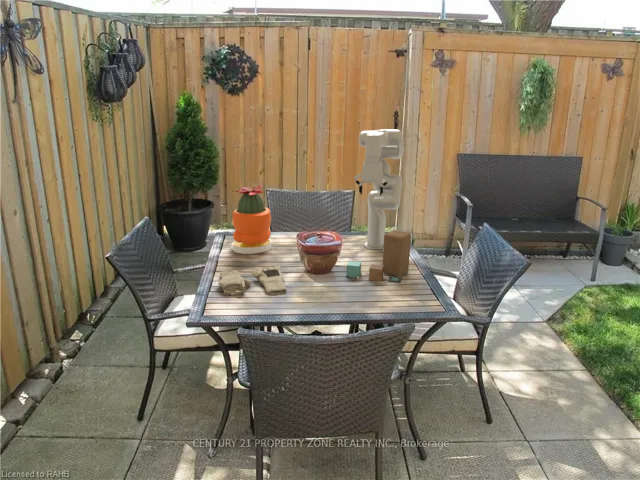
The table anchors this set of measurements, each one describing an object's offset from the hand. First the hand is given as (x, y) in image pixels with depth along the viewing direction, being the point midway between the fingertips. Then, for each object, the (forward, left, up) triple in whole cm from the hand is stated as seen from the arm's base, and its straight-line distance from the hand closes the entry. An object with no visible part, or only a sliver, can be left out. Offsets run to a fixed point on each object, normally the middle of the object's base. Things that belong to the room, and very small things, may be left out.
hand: (370, 194), depth 265 cm
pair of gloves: (+43, -47, -36) cm, 73 cm away
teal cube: (+19, -4, -36) cm, 41 cm away
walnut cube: (+20, +7, -36) cm, 42 cm away
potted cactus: (-2, -63, -36) cm, 72 cm away
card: (+20, +16, -36) cm, 44 cm away
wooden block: (+10, +15, -36) cm, 40 cm away
